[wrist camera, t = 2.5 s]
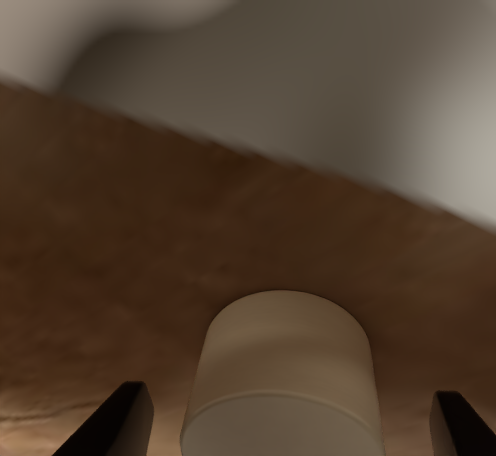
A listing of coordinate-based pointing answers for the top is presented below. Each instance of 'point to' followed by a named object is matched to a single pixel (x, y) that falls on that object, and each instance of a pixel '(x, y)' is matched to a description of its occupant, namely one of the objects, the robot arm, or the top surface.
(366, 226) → the top surface
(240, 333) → the cylinder
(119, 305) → the top surface
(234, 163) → the top surface
